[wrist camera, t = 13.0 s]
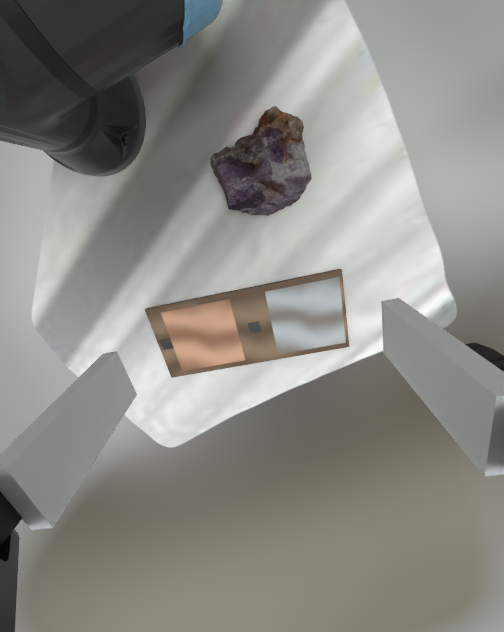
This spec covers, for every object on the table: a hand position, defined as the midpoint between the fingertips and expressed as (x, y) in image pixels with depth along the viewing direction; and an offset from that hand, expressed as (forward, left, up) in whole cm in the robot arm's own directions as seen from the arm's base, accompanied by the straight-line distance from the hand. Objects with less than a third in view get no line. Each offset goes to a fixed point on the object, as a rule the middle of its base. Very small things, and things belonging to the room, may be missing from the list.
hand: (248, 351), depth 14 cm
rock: (-13, +3, -23) cm, 27 cm away
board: (+13, -4, -32) cm, 34 cm away
